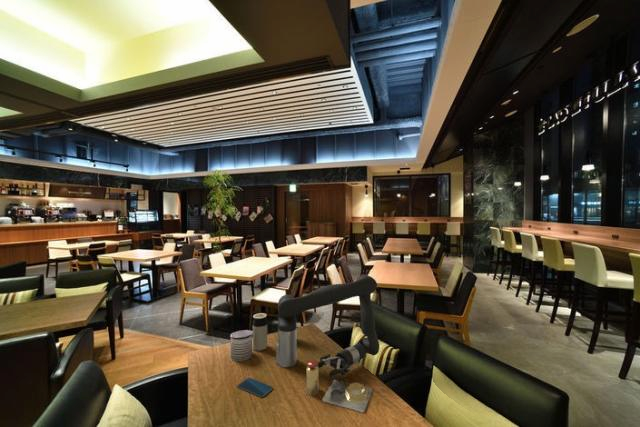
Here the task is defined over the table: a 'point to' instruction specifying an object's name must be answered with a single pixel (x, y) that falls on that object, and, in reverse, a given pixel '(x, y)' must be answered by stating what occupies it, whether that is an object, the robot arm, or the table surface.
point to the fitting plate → (347, 400)
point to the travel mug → (259, 331)
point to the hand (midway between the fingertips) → (323, 370)
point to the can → (241, 345)
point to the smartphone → (255, 387)
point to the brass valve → (312, 378)
